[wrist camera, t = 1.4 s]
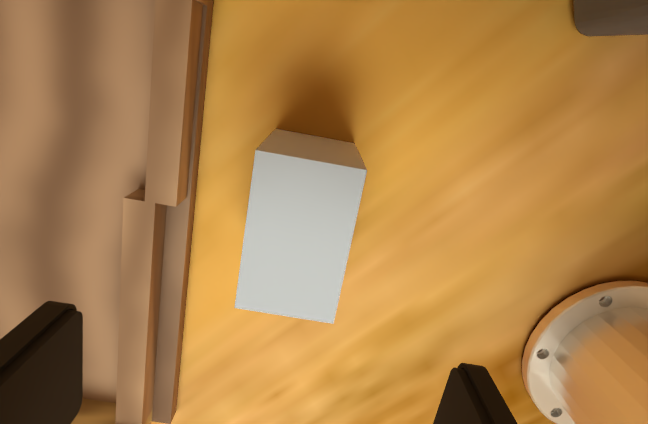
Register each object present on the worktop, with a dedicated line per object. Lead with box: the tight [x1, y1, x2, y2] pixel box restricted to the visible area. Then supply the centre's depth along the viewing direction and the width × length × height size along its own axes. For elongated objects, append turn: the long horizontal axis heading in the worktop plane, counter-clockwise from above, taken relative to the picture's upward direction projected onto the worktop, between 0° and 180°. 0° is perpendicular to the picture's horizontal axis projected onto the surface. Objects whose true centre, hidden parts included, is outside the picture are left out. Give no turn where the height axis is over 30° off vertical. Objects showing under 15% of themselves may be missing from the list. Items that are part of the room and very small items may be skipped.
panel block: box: [235, 129, 367, 324], centre depth 23 cm, size 5×8×8 cm, turn 170°
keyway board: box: [0, 0, 213, 424], centre depth 25 cm, size 16×30×4 cm, turn 170°
